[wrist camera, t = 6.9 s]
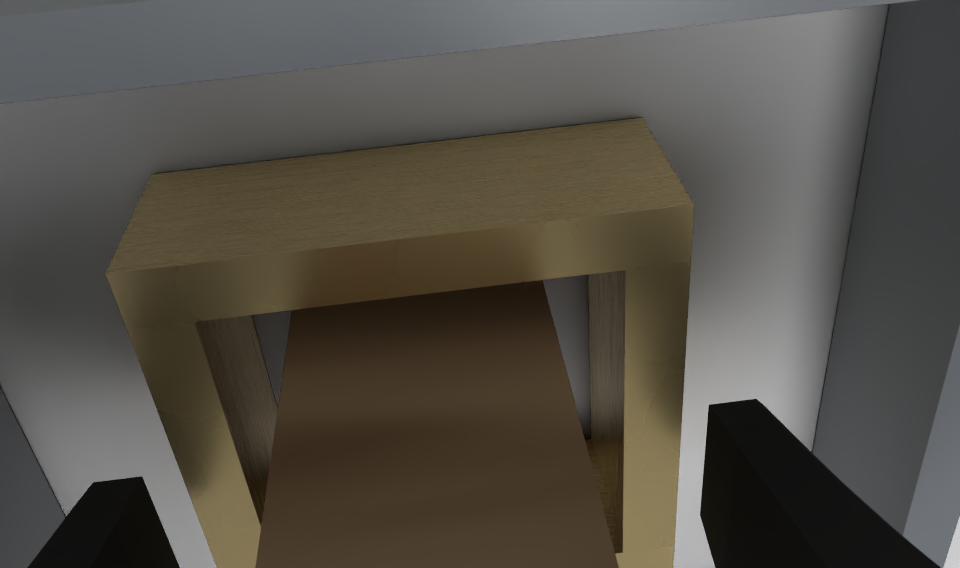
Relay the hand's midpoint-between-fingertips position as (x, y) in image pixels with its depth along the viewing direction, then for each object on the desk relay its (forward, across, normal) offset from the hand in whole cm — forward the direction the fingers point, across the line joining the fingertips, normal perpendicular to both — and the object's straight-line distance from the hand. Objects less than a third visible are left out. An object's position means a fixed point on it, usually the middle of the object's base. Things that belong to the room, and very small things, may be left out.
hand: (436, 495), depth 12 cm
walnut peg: (+3, 0, 0) cm, 3 cm away
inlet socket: (+3, 0, 0) cm, 3 cm away
